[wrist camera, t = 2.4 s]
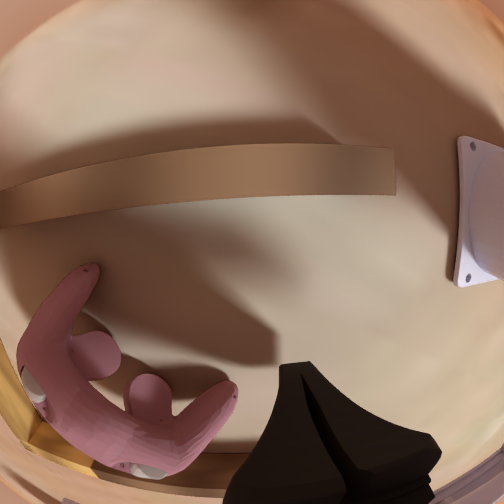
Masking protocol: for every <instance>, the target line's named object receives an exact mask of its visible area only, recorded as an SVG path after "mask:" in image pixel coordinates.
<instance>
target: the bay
mask: <svg viewBox="0 0 504 504" xmlns="http://www.w3.org/2000/svg"><path fill="white" fill-rule="evenodd" d="M291 195H396V173H395V154H394V149H390V148H381V147H370V146H357V145H340V144H312V143H273V144H245V145H228V146H214V147H203V148H193V149H184V150H175V151H168V152H160V153H153V154H147V155H141V156H135V157H129V158H123V159H118V160H113V161H108V162H103V163H98V164H94V165H89V166H85V167H81V168H77V169H72V170H69V171H65V172H61V173H57V174H54V175H50V176H47V177H43V178H40V179H36V180H33V181H30V182H27V183H24V184H21V185H18V186H15V187H12V188H9V189H6V190H3V191H1V192H0V229H3V228H7V227H12V226H17V225H22V224H27V223H32V222H37V221H43V220H48V219H54V218H60V217H66V216H72V215H79V214H85V213H92V212H99V211H106V210H114V209H122V208H130V207H138V206H147V205H156V204H166V203H177V202H188V201H200V200H213V199H228V198H244V197H264V196H291ZM0 414H1V416H2V417H3V419H4V420H5V422H6V423H7V425H8V426H9V427H10V429H11V430H12V432H13V433H14V434H15V436H16V437H17V438H18V440H19V441H20V442H21V443H22V445H23V446H24V447H25V448H26V449H27V450H29V451H31V452H33V453H35V454H37V455H39V456H41V457H44V458H46V459H48V460H50V461H53V462H55V463H57V464H60V465H62V466H65V467H67V468H70V469H72V470H75V471H78V472H81V473H83V474H86V475H89V476H93V477H96V478H99V479H102V480H106V481H109V482H113V483H117V484H121V485H125V486H129V487H134V488H138V489H143V490H149V491H154V492H161V493H167V494H175V495H184V496H195V497H211V498H224V495H225V492H226V490H227V488H228V485H229V483H230V481H231V479H232V477H233V475H234V473H235V472H236V471H237V470H238V469H239V468H240V466H241V465H242V464H243V463H244V462H245V460H246V459H247V458H248V456H249V455H250V453H234V454H215V453H200V454H199V455H198V456H197V458H196V459H195V460H194V461H193V462H192V463H191V464H190V465H188V466H187V467H186V468H185V469H184V470H182V471H180V472H178V473H176V474H174V475H170V476H166V477H164V478H162V479H150V478H141V477H137V476H134V475H132V474H130V473H126V472H123V471H120V470H117V469H114V468H111V467H108V466H106V465H104V464H102V463H100V462H98V461H96V460H94V459H92V458H91V457H89V456H87V455H86V454H84V453H82V452H81V451H79V450H78V449H76V448H75V447H74V446H72V445H71V444H70V443H69V442H68V441H66V440H65V439H64V438H63V437H62V436H61V435H60V434H59V433H58V432H57V431H56V430H55V429H54V428H53V427H52V426H51V425H50V424H49V423H47V422H44V421H42V419H41V418H40V416H39V415H38V413H37V411H36V410H35V408H34V407H33V405H32V403H31V401H30V400H29V398H28V396H27V394H26V393H25V391H24V389H23V387H22V385H21V383H20V381H19V379H18V378H17V376H16V374H15V371H14V369H13V367H12V365H11V363H10V361H9V359H8V356H7V354H6V352H5V349H4V347H3V345H2V342H1V339H0Z"/></svg>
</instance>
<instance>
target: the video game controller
mask: <svg viewBox="0 0 504 504" xmlns="http://www.w3.org/2000/svg"><path fill="white" fill-rule="evenodd" d="M99 274H100V269H99V266H98V265H97V264H95V263H92V262H91V263H88V264H84V265H82V266H80V267H78V268H77V269H75V270H74V271H72V272H71V273H69V274H68V275H67V276H66V277H65V278H64V279H63V281H62V282H61V283H60V284H59V285H58V286H57V287H56V288H55V290H54V291H53V292H52V293H51V294H50V295H49V296H48V298H47V299H46V300H45V301H44V302H43V303H42V305H41V306H40V307H39V309H38V310H37V311H36V313H35V315H34V316H33V318H32V320H31V322H30V323H29V325H28V327H27V329H26V330H25V332H24V334H23V336H22V337H21V339H20V341H19V343H18V347H17V355H16V357H17V366H18V371H19V374H20V377H21V380H22V383H23V387H24V389H25V391H26V393H27V395H28V396H29V398H30V399H31V400H32V401H33V403H34V405H35V406H36V408H37V409H38V410H39V412H40V413H41V414H42V416H43V417H44V418H45V419H46V421H47V422H48V423H49V424H50V425H51V426H52V427H53V428H54V429H55V430H56V431H57V432H58V433H59V434H60V435H61V436H62V437H63V438H64V439H65V440H66V441H68V442H69V443H70V444H71V445H72V446H74V447H75V448H76V449H78V450H79V451H81V452H82V453H84V454H86V455H87V456H89V457H91V458H92V459H94V460H96V461H98V462H100V463H102V464H104V465H106V466H108V467H111V468H114V469H117V470H120V471H123V472H126V473H130V474H132V475H134V476H137V477H141V478H150V479H162V478H164V477H166V476H170V475H174V474H176V473H178V472H180V471H182V470H184V469H185V468H186V467H187V466H188V465H190V464H191V463H192V462H193V461H194V460H195V459H196V458H197V456H198V455H199V454H200V453H201V452H202V451H203V450H204V448H205V447H206V446H207V445H208V444H209V443H210V441H211V440H212V439H213V438H214V437H215V435H216V434H217V433H218V432H219V430H220V429H221V428H222V427H223V425H224V424H225V423H226V421H227V420H228V419H229V417H230V416H231V414H232V413H233V410H234V408H235V405H236V402H237V398H238V388H237V385H236V384H235V383H234V382H231V381H227V380H225V381H223V382H221V383H218V384H215V385H214V386H212V387H211V388H209V389H207V390H206V391H204V392H203V393H202V394H201V395H200V396H198V397H197V398H196V399H195V400H194V401H193V402H192V403H190V404H189V405H188V406H187V407H186V408H185V409H184V410H183V411H182V412H181V413H180V414H179V415H178V416H173V415H172V409H171V406H172V395H171V390H170V387H169V386H168V384H167V383H166V382H165V381H164V380H163V379H161V378H160V377H158V376H156V375H153V374H142V375H139V376H137V377H135V378H133V379H131V380H130V381H129V382H128V383H127V384H126V386H125V389H124V395H123V400H124V406H125V411H123V410H122V409H120V408H119V407H117V406H116V405H114V404H113V403H112V402H110V401H109V400H108V399H106V398H105V397H104V396H103V395H102V394H101V393H100V392H98V391H97V390H96V389H95V388H94V387H93V386H92V385H91V384H90V383H89V382H88V381H96V380H101V379H103V378H106V377H108V376H110V375H111V374H113V373H114V372H115V371H116V370H117V369H118V367H119V366H120V363H121V353H120V349H119V347H118V345H117V343H116V342H115V341H114V339H113V338H112V337H111V336H109V335H108V334H107V333H105V332H102V331H92V332H88V333H85V334H82V335H78V336H72V329H73V326H74V323H75V320H76V318H77V316H78V314H79V313H80V311H81V309H82V308H83V306H84V304H85V303H86V301H87V299H88V298H89V296H90V294H91V292H92V290H93V288H94V286H95V285H96V282H97V280H98V277H99Z"/></svg>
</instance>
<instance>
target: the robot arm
mask: <svg viewBox="0 0 504 504" xmlns="http://www.w3.org/2000/svg"><path fill="white" fill-rule="evenodd" d="M457 145H458V157H459V175H460V215H459V233H458V245H457V255H456V263H455V271H454V277H453V282H454V285H455V286H457V287H459V288H462V287H467V286H471V285H476V284H480V283H485V282H489V281H493V280H497V279H501V280H503V281H504V148H502V147H499V146H496V145H494V144H491V143H488V142H485V141H482V140H479V139H476V138H472V137H469V136H460V137H459V138H458V140H457ZM470 145H471V147H470ZM466 276H467V277H466ZM441 454H442V451H441V449H440V448H439V446H438V444H437V443H436V441H435V440H434V439H433V437H432V436H431V435H430V434H428V433H423V432H419V431H415V430H411V429H407V428H404V427H401V426H398V425H396V424H393V423H391V422H388V421H386V420H384V419H382V418H380V417H377V416H375V415H373V414H372V413H370V412H368V411H366V410H365V409H363V408H362V407H360V406H358V405H357V404H355V403H354V402H353V401H351V400H350V399H349V398H347V397H346V396H345V395H344V394H342V393H341V392H340V391H339V390H338V389H337V388H336V387H335V386H333V385H332V384H331V383H330V382H329V381H328V380H327V379H326V378H325V377H324V376H323V375H322V374H321V373H320V372H319V371H318V369H317V368H316V367H315V366H314V365H313V364H312V363H311V362H310V361H307V362H298V363H289V364H281V365H280V366H279V389H278V394H277V398H276V401H275V405H274V408H273V411H272V414H271V416H270V419H269V421H268V423H267V426H266V428H265V430H264V432H263V434H262V436H261V437H260V439H259V441H258V443H257V444H256V446H255V447H254V449H253V450H252V452H251V453H250V455H249V456H248V458H247V459H246V460H245V462H244V463H243V464H242V465H241V466H240V468H239V469H238V470H237V471H236V472H235V473H234V475H233V477H232V479H231V481H230V483H229V485H228V488H227V490H226V492H225V495H224V498H223V503H222V504H495V503H496V502H497V501H498V500H499V499H501V498H502V497H503V496H504V444H503V445H502V447H501V448H500V449H499V450H497V451H496V452H495V453H494V454H492V455H491V456H490V457H488V458H487V459H485V460H484V461H483V462H481V463H480V464H478V465H477V466H475V467H474V468H472V469H471V470H469V471H468V472H466V473H465V474H463V475H462V476H460V477H458V478H457V479H455V480H453V481H452V482H450V483H448V484H446V485H445V486H443V487H441V488H439V489H437V490H435V491H432V489H431V487H430V486H429V483H430V482H431V478H430V477H429V475H428V474H429V473H430V471H431V470H432V469H433V467H434V466H435V465H436V464H437V462H438V461H439V459H440V457H441ZM61 504H79V503H77V502H74V501H72V500H70V499H67V498H63V501H62V503H61Z"/></svg>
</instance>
